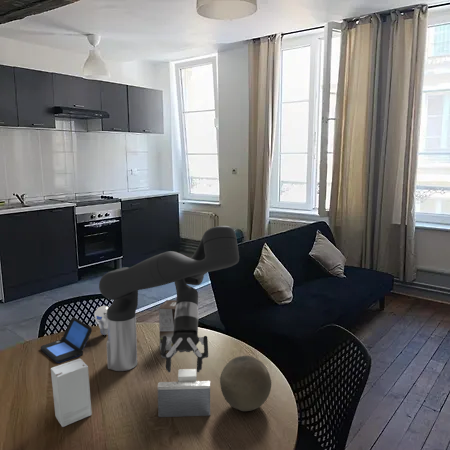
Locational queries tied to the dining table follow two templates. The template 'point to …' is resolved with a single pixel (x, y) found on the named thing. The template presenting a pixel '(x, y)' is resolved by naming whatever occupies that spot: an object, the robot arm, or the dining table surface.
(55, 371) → the skincare box
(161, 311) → the coffee box
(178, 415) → the grey flat box
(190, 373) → the block
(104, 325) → the light bulb
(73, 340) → the handheld game console
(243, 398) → the cantaloupe
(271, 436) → the dining table surface
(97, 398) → the dining table surface
